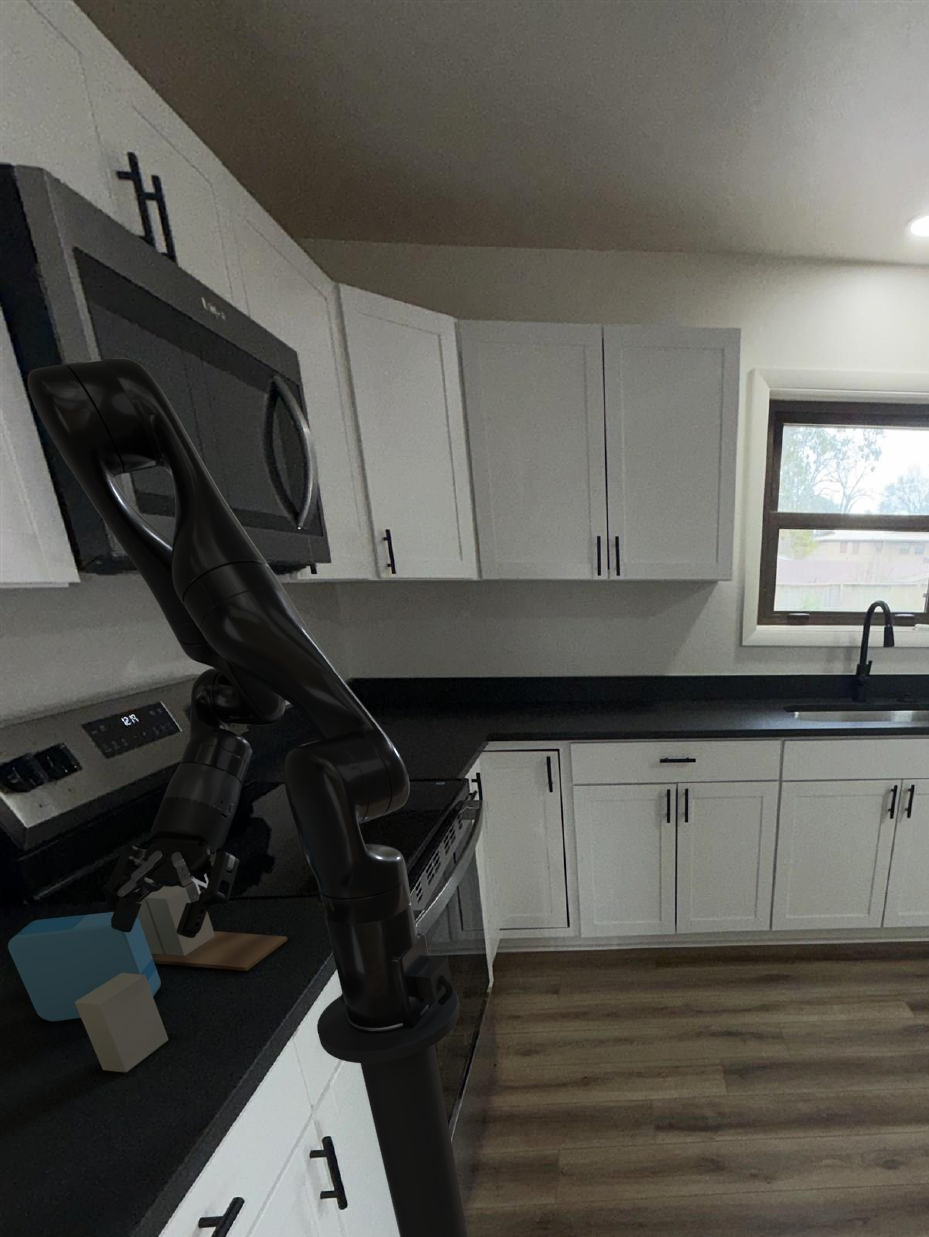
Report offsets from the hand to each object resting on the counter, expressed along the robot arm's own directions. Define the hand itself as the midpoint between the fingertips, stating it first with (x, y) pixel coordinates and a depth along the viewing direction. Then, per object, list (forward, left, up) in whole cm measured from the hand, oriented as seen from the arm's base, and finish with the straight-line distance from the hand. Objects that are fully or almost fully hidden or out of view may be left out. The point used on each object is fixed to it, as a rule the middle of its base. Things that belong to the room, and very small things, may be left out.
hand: (152, 933), depth 83 cm
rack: (+9, -16, -12) cm, 22 cm away
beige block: (0, +7, -12) cm, 14 cm away
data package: (+12, -1, -12) cm, 17 cm away
